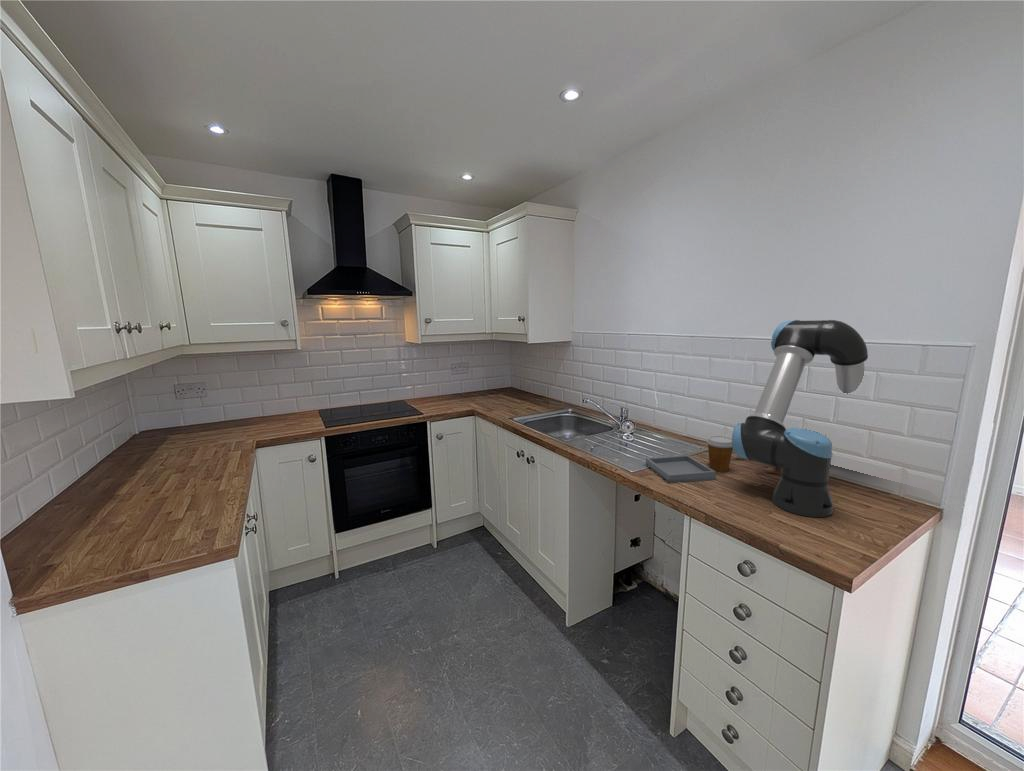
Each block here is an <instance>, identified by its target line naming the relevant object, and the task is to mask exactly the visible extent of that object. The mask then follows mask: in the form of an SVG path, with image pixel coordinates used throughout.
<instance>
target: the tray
mask: <svg viewBox="0 0 1024 771" xmlns="http://www.w3.org/2000/svg"><path fill="white" fill-rule="evenodd" d="M646 465H647V466H649V467H650V468H649V469H650V470H651V469H652V470H653V471H652V470H651V471H652V472H653V473H655V474H656V473H657V474H658V475H657V474H656V475H657V476H658V477H660V476H661V477H662V478H661V477H660V478H661V479H662V480H664V479H665V480H666V481H667V483H668V482H669V483H668V484H677V482H681V483H687V482H688V483H689V482H690V483H692V482H693V483H694V482H701V481H702V482H704V481H715V480H717V471H714V470H712V469H711V468H710V466H707V465H706V464H704V463H702V462H700V461H699V460H697V459H695V458H694V457H692V456H690V455H688V454H687V455H685V454H684V455H672V456H671V455H670V456H659V457H658V456H657V457H646V458H645V466H646ZM647 466H646V467H647ZM665 480H664V481H665ZM666 481H665V482H666Z"/></svg>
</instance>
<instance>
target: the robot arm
mask: <svg viewBox="0 0 1024 771" xmlns="http://www.w3.org/2000/svg"><path fill="white" fill-rule="evenodd" d="M770 347H771V349H772V351H773V354H774V356H775V357H776V358H775V361H774V364H773V365H772V368H771V370H770V373H769V375H768V378H767V380H766V383H765V386H764V387H763V390H762V394H761V395H760V397H759V398H760V399H759V401H758V403H757V405H756V408H755V410H754V413H753V414H751V415H747V417H746V418H745V421H744V422H738V423H737V424H736V425H734V427H733V431H732V433H731V439H732V447H733V450H732V451H733V452H734V454H735V455H736V456H737V457H739V458H740V459H741V458H742V459H745V460H747V461H749V462H750V461H751V462H756V463H760V464H764V465H767V466H771V467H775V468H778V469H781V476H780V479H779V481H778V483H777V484H776V487H775V488H774V490H773V493H772V503H773V504H774V505H776V506H777V507H778V508H780V509H782V510H784V511H786V512H789V513H791V514H796V515H799V516H804V517H810V518H825V517H826V518H827V517H829V516H831V515H832V514H833V512H834V503H833V499H832V496H831V492H830V489H829V479H830V472H831V471H830V470H831V463H832V457H833V442H832V440H831V439H830V438H829V437H827V435H825V436H824V435H822V434H820V433H818V432H815V431H811V430H807V429H802V428H800V427H789V428H787V429H786V427H785V425H784V424H783V423H784V420H785V418H786V414H787V413H788V410H789V407H790V405H791V402H792V400H793V397H794V395H795V392H796V389H797V387H798V385H799V382H800V379H801V376H802V374H803V372H804V369H805V366H806V365H807V364H810V363H811V362H812V361H813V360H814V358H815V355H818V356H820V355H821V356H829V358H830V359H829V360H830V362H831V363H832V364H833V365H834V368H835V369H834V370H835V376H836V386H837V385H838V387H839V389H840V390H841V391H842V392H843V393H847V394H848V393H851V392H853V391H855V390H856V389H857V388H858V386H859V385H860V383H861V382H862V379H863V376H864V370H865V371H866V369H865V362H866V361H867V360H868V356H869V355H868V352H869V351H868V348H867V347H868V346H867V344H866V341H865V340H864V339H863V337H862V336H861V334H860V333H859V332H858V331H857V330H856V329H855V328H854V327H852V326H851V325H849V324H847V323H846V322H843V321H841V320H835V319H827V320H826V319H825V320H800V319H799V320H798V319H794V320H785V321H782V322H781V323H779V324H778V325H777V326H776V328H775V329H774V331H773V333H772V336H771V342H770ZM838 387H837V388H838Z"/></svg>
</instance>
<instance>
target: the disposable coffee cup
mask: <svg viewBox="0 0 1024 771" xmlns="http://www.w3.org/2000/svg"><path fill="white" fill-rule="evenodd" d="M706 444H707V446H708V448H707V449H708V459H709V461H708V462H709V468H711V469H712V470H714V471H716V472H718V473H719V472H720V473H724V472H726V473H727V472H728V471H729V467H730V464H731V463H730V462H731V459H732V454H733V451H734V450H733V447H732V437H728V436H721V435H711V436H709V437H708V439H706Z"/></svg>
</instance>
